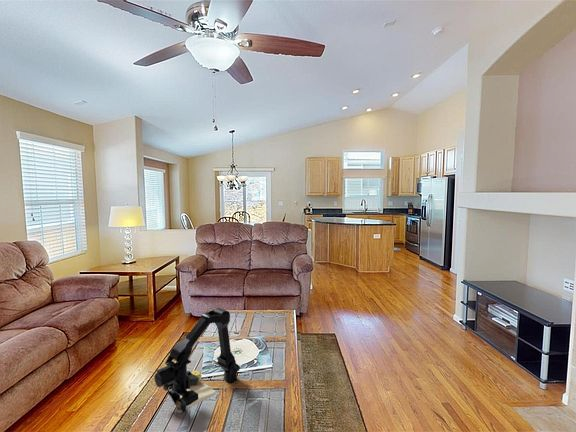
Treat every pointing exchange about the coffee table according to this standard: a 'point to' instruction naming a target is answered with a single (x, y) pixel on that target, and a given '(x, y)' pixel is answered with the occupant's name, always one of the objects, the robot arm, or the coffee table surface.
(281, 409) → the coffee table surface
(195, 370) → the block
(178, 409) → the peg
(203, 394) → the plywood panel
